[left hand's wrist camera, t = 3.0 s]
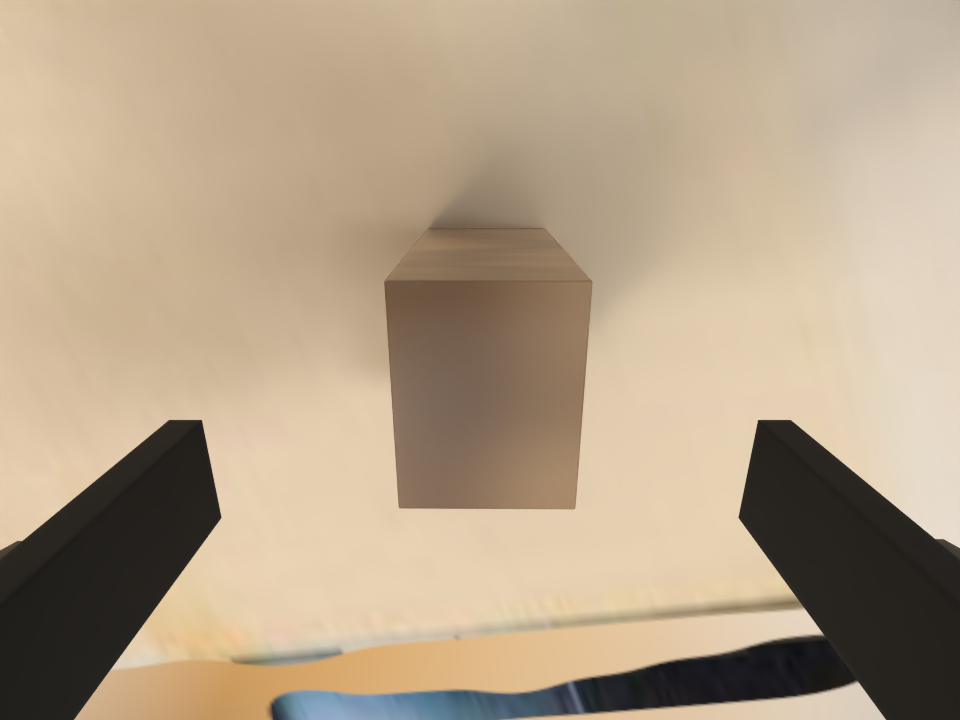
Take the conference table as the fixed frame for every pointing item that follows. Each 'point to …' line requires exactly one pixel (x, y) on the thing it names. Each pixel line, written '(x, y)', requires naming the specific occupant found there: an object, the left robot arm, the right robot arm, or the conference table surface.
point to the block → (487, 370)
